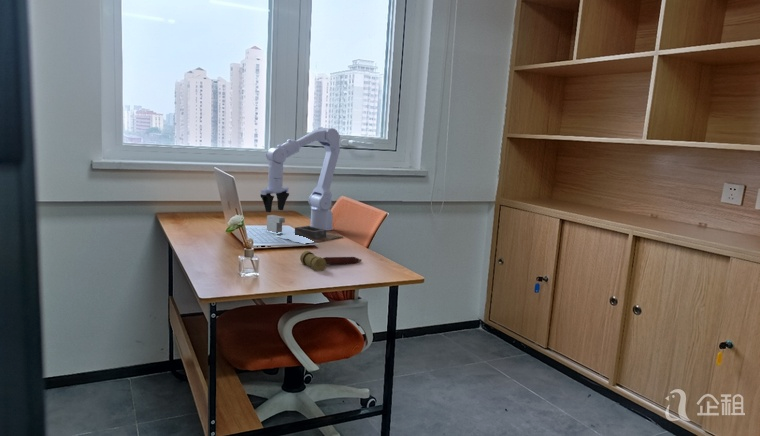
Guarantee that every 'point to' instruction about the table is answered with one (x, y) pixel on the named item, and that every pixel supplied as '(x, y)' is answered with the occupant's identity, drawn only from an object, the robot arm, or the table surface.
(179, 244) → the table surface
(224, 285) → the table surface
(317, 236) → the slot board
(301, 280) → the table surface
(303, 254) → the gavel
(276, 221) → the steel bracket
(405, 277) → the table surface
